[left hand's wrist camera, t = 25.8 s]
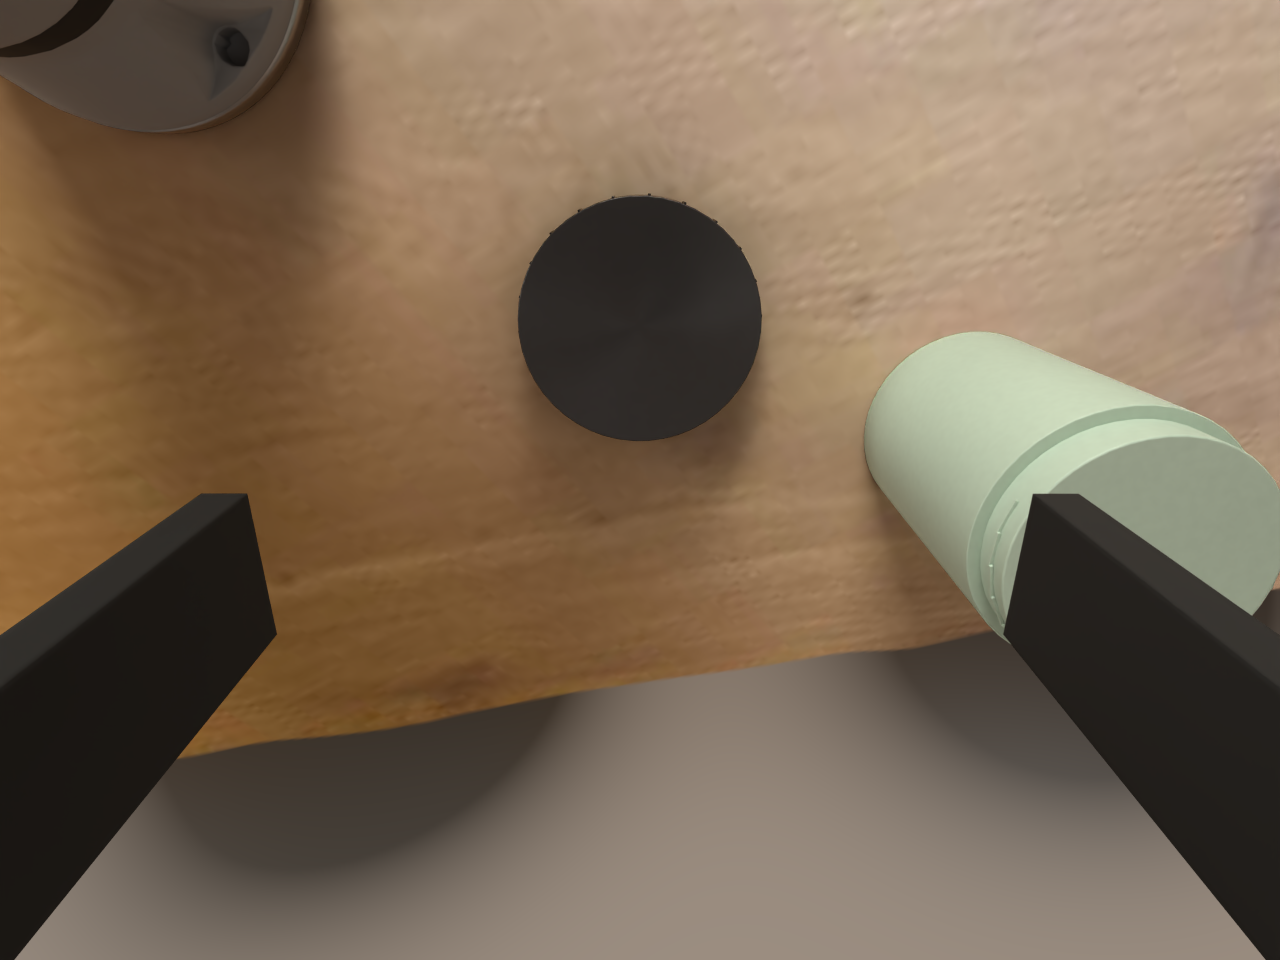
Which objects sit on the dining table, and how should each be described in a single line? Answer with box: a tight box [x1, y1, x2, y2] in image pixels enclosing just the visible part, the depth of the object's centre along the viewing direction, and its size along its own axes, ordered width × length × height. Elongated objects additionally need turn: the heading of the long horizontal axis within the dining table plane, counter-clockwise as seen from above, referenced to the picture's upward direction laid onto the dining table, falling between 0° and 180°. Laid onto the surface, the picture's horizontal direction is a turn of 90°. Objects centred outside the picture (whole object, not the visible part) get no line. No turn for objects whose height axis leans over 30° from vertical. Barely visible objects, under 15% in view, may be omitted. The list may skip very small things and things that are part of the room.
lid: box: [518, 193, 762, 441], centre depth 36 cm, size 11×12×2 cm
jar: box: [864, 332, 1280, 643], centre depth 32 cm, size 10×10×15 cm
